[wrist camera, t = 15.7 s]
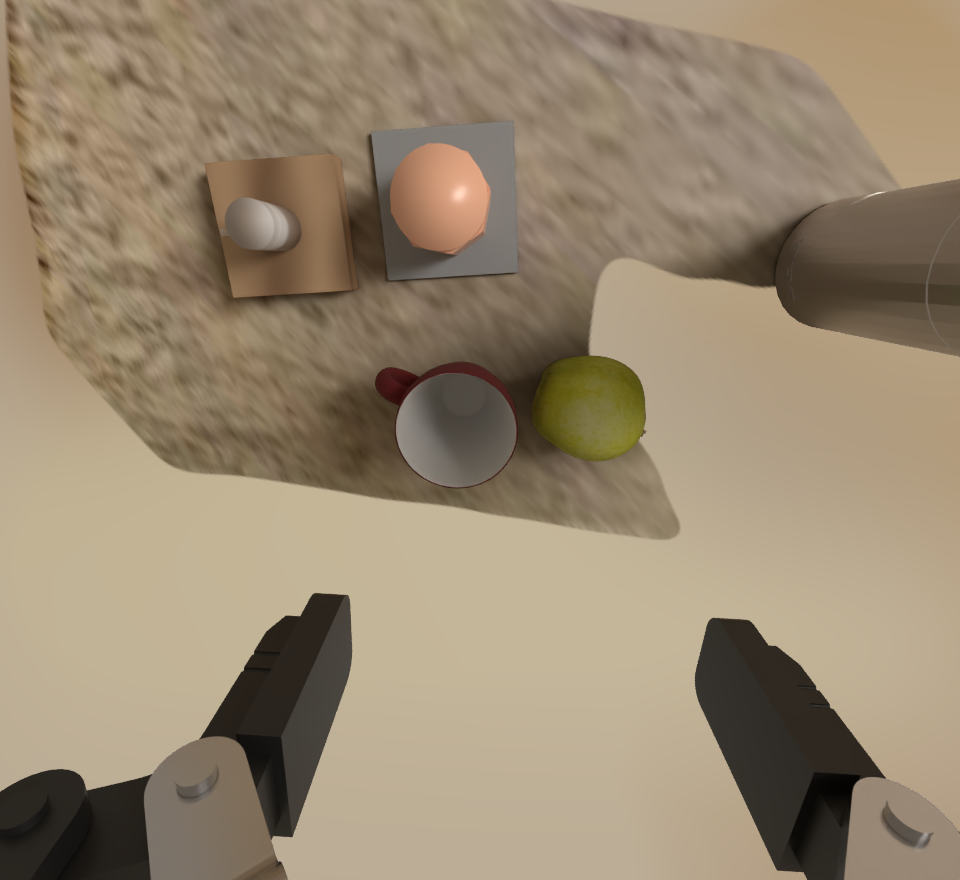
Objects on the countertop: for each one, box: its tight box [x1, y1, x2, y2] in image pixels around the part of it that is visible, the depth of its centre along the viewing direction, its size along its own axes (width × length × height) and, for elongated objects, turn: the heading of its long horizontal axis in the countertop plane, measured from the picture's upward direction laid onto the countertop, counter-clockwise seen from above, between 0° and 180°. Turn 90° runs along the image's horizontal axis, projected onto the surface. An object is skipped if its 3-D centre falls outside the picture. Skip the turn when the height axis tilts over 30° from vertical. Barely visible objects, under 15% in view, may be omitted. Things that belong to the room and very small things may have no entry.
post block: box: [204, 154, 358, 298], centre depth 35 cm, size 9×9×7 cm
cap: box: [390, 143, 491, 255], centre depth 34 cm, size 6×6×6 cm
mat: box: [371, 121, 518, 280], centre depth 37 cm, size 10×10×1 cm
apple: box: [531, 356, 646, 461], centre depth 38 cm, size 8×9×8 cm
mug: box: [375, 362, 518, 488], centre depth 37 cm, size 10×8×10 cm
